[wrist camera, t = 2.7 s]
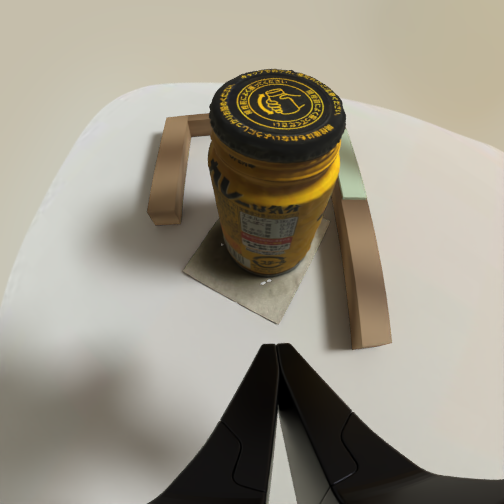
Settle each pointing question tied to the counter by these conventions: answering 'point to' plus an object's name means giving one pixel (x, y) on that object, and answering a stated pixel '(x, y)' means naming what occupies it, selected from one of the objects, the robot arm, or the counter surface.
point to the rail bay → (346, 213)
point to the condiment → (268, 186)
